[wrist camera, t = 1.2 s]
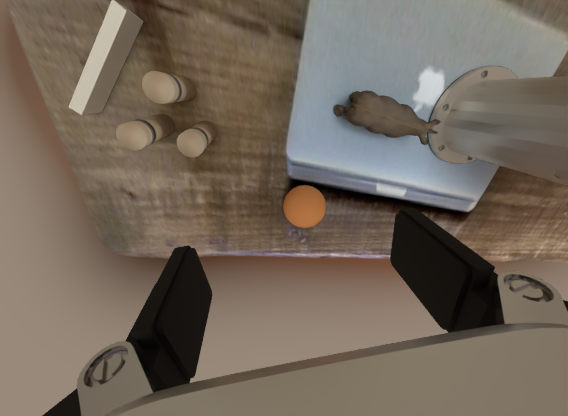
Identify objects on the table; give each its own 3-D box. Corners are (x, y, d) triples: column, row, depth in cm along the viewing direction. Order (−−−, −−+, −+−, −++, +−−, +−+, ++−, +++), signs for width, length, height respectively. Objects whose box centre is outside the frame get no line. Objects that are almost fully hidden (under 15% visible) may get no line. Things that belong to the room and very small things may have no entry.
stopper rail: (143, 21, 23) (126, 10, 20) (101, 112, 26) (81, 114, 23) (131, 11, 23) (112, -1, 20) (90, 105, 26) (68, 107, 23)
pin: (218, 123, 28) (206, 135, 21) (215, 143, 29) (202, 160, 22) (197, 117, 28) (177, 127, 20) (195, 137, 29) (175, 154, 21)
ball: (325, 184, 34) (338, 201, 29) (311, 217, 36) (321, 239, 31) (287, 175, 33) (294, 191, 27) (276, 210, 35) (280, 231, 30)
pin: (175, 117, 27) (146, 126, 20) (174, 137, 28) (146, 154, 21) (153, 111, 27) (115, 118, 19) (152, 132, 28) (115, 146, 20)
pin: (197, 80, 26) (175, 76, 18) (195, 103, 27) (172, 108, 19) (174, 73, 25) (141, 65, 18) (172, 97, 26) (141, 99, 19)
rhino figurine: (413, 145, 33) (444, 155, 28) (329, 118, 30) (345, 123, 24) (428, 116, 31) (464, 121, 26) (341, 84, 28) (361, 82, 23)
